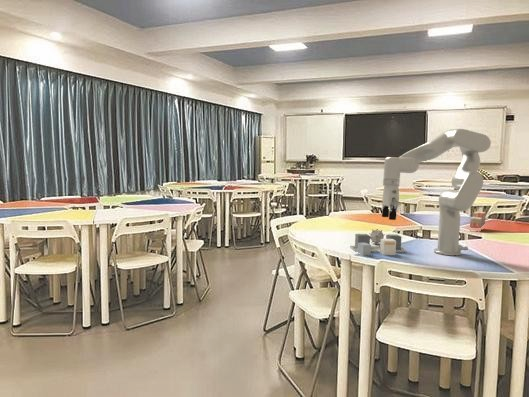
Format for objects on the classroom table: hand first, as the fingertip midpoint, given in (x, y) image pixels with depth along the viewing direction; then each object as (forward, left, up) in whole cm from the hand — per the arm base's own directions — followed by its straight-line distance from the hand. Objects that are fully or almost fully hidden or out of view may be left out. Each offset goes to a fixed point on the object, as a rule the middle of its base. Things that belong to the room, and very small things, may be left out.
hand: (388, 218), depth 207 cm
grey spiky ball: (-3, -26, -18) cm, 32 cm away
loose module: (0, 0, -18) cm, 17 cm away
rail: (+2, -9, -17) cm, 20 cm away
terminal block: (+12, +1, -18) cm, 21 cm away
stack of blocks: (-94, -84, -18) cm, 127 cm away
